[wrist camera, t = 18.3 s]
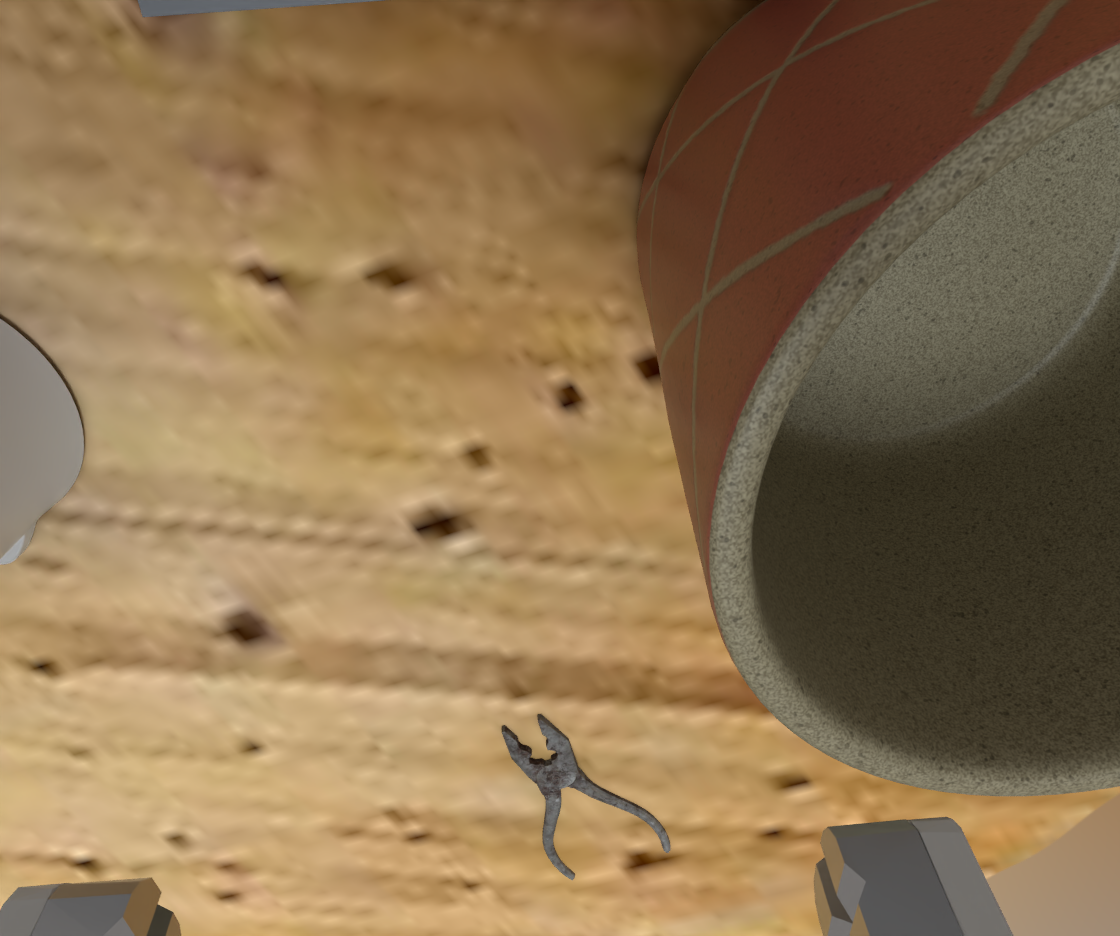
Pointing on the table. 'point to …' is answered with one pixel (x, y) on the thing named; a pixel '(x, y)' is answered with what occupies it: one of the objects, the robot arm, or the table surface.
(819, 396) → the planter
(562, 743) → the pliers
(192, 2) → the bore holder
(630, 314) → the table surface
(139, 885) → the robot arm
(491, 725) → the table surface
